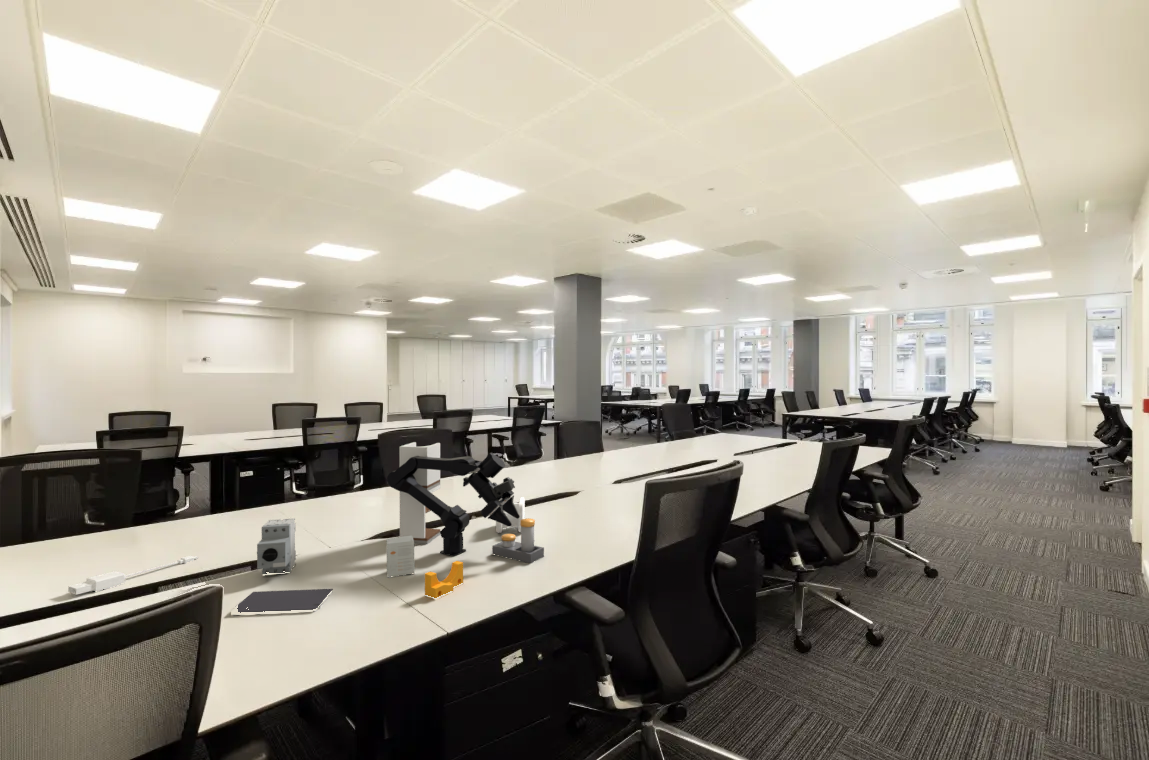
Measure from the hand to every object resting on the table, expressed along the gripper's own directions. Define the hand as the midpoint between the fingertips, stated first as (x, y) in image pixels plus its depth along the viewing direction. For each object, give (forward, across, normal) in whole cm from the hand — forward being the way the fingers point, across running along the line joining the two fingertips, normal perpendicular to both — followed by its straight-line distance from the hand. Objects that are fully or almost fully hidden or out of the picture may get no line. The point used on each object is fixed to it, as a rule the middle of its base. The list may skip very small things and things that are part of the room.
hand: (514, 521), depth 177 cm
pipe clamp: (+1, -30, +16) cm, 34 cm away
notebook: (-26, -46, +45) cm, 69 cm away
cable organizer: (+1, +29, +16) cm, 33 cm away
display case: (-19, +12, +37) cm, 44 cm away
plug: (+11, 0, +5) cm, 12 cm away
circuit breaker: (-38, -28, +57) cm, 74 cm away
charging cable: (-66, -38, +85) cm, 114 cm away
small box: (-13, -20, +30) cm, 39 cm away
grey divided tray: (+9, +1, +8) cm, 12 cm away
